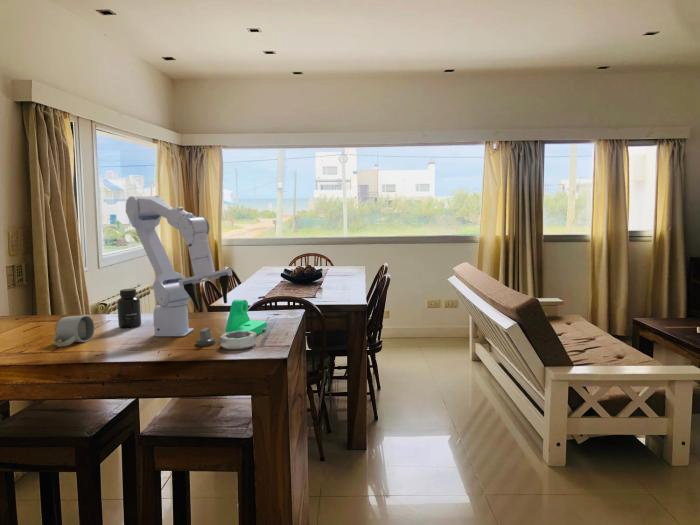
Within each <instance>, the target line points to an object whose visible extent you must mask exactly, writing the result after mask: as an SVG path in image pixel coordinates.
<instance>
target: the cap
mask: <svg viewBox="0 0 700 525" xmlns="http://www.w3.org/2000/svg"><path fill="white" fill-rule="evenodd" d="M211 336H212V335H211V327H203V329H201V330H199V337H200V338H198V339H196V341H195V344H196V346H197V345H198V347H210V346H213V345H215V344H216V338H215V337H211Z"/></svg>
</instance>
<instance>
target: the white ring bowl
mask: <svg viewBox="0 0 700 525" xmlns="http://www.w3.org/2000/svg"><path fill="white" fill-rule="evenodd" d="M219 339H220V340H219V341H220V342H219V343H220V346H221V347H222V349H224V350H227V351H242V350H247V349H252V348H253V347H255V346H256V343H257V335H256V333H255V332H252V331H232V332H227V333H226V332H224V333H222V335H220V336H219Z"/></svg>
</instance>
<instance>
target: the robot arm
mask: <svg viewBox="0 0 700 525" xmlns="http://www.w3.org/2000/svg"><path fill="white" fill-rule="evenodd" d="M125 213H126V215H127V217H128V219H129V221H130V224H131V226H132V227H133V228H134V229H135V231H136V234H137V236H138V239H139V240H140V242H141V245H142V247H143V250H144V252H145V254H146V257H147V258H148V260H149V263H150V265H151V267H152V269H153V271H154V273H155V275H156V279H155V280H154V281H153V284H152V285H151V286H152V289H153V293H154V298H155V301H156V302H157V303H158V305H155V306H154V309H153V328H154V334H153V337H185V336H186V335H188V334H189V333H191V332H192V331H194V330H195V329H194V328H193V327H189V312H188V304H189V303H190V300H191V301H192V302H193V304H194V307H195V309H196V311H198V310H201V307H200V304H199V301H198V296H197V291H196V284H199V283H204V282H207V281H212V280H216V279H218V280H219V284H220V288H221V293H222V299H223V303H224V304H225V305H226V304H228V287H229V282H230V277H231V276H233V271H232V268H227V269H221V270H217V271H216V270H215V266H214V261H213V256H212V252H211V248H210V243H209V239H208V238H209V237H208V235H209V232H210V223H209V220H208V219H207V218H206V217H205V216H202V215H200V216H195V215H194V214H193V213H192V212H188V211H186V210H185V208H184V207H183V206H175V207H172V206H171V205H170V204H168V203H166V202H165V199H164V198H163V197H161V196H159V195H153V196H152V195H149V196H132V195H131V196H129V197H128V198H127V200H126V202H125ZM162 217H163V218H165V219H166V221H167V224H168V225H170V226H171V227H173V228H175V229H176V230H178V231H179V234H180V236H181V237H182V238H183V240H184V243H185V245H186V246H187V248H188V249H187V250H188V252H189V257H190V262H191V267H192V271H193V276H189V277H186V276H185V275H184V274H182V273H180V272H177V271H176V270H175V269H174V267H173V265H172V263H171V260H170V259H169V256H168V254H167V252H166V250H165V247H164V246H163V244H162V242H161V239H160V237H159V235H158V232H157V231H156V227H157V226H160V223H161V219H162Z"/></svg>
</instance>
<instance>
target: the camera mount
mask: <svg viewBox="0 0 700 525" xmlns="http://www.w3.org/2000/svg"><path fill="white" fill-rule="evenodd" d="M248 311H249V303H248V301H247V300H246V299H233V300H232V302H231V305H230V309H229V315H228V318H227V320H226V322H227V323H226V326H225V333H227V332H232V331H252V332H255V333H256V336H258V335H260V334H261V332H262V331H264V330H263V329H266V328H267V327H268V322H267V321H266V320H251V319H250V317H249V315H248V314H249V313H248ZM259 333H260V334H259ZM262 333H263V332H262ZM257 334H258V335H257Z"/></svg>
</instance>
